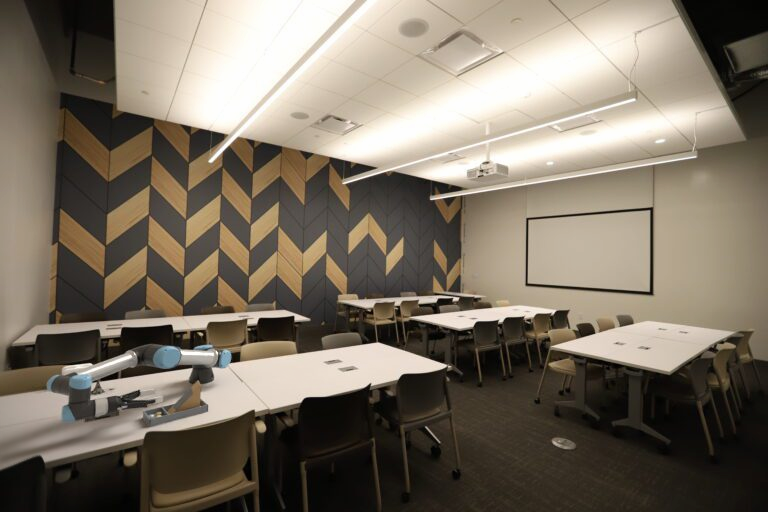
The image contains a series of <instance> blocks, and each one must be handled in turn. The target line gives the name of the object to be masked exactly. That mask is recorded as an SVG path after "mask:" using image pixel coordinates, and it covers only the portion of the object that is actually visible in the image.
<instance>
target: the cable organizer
mask: <svg viewBox="0 0 768 512" xmlns="http://www.w3.org/2000/svg"><path fill="white" fill-rule="evenodd" d="M92 365H93V364H92V363H90V362H89V363H81V364H74V365H73V364H72V365H66V366H64V367H62V368H61V375H67V374H69V373H72V372H75V371H78V370H81V369H84V368H86V367H89V366H92ZM93 382H94V381H92V383H93Z"/></svg>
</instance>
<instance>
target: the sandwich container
mask: <svg viewBox="0 0 768 512" xmlns="http://www.w3.org/2000/svg"><path fill="white" fill-rule="evenodd" d="M201 388H202V384H200V383H199V381H197V382H196V383H195V384H192V385H191V387H190V388H189V389H188V390H187V391H185V393H184V394H183V395H182V396H181V397H180V398H179V399H177V400H176V402H175V403H173V404H174V405H173V406H172V407H171V408H170V409H169V410H168V411H167V412H168V414H173V413H177V412H181V411H184V410H188V409H192V408H196V407H200V398H201V393H202V391H201V390H202V389H201Z"/></svg>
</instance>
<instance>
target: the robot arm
mask: <svg viewBox="0 0 768 512" xmlns="http://www.w3.org/2000/svg"><path fill="white" fill-rule="evenodd" d="M231 360H232V354H231V351H230V350H227V349H224V348H222V349H220V348H215V347H214V346H213V345H212V344H203V345H198V346H195V347H194V348H193V349H181V347H179V346H175V345H163V344H156V343H149V344H144V345H141V346H137V347H134V348H132V349H129V350H127V351H125V353H123V354H120V355H118V356H114V357H112V358H109V359H106V360H104V361H100V362H98V363H96V364H92V366H89V367H86V368H84V369H81V370H78V371H75V372H72V373H69V374H67V375H62V374H55V375H53V376H51V377H50V378H49V379H48V381H47V382H46V386H45V387H46V389H47V390H48V391H49V392H52V393H54V394H58V395H64V396H68V402H67V404H64V405H62V406H61V413H60V414H61V422H62V423H63V424H66V423H67V424H68V423H72V422H77V421H83V420H86V419H91V418H94V417H95V418H96V417H97V418H99V417H101V416H104V415H106V414H108V415H109V414H114V413H115V414H116V413H117V412H118V410H119V409H120V408H121V410H122V411H124V410H132V409H134V410H135V409H146V408H148V406H150V405H154V404H159V403H163V402H164V396H163V395H159V396H156V397H151V398H147V399H138V398H139V397H140V398H142V397H148V396H153V395H156V393H157V392H156V390H157V389H156V388H151V389H147V390H146V389H145V390H140V389H137V390H134V391H130V392H128V393H125V394H122V395H119V396H117V395H111V396H107V397H100V398H97V399H91V396H92V394H91V391H92V384H93V382H95V381H97V380H98V379H99V380H100V379H102V378H105V377H108V376H110V375H113V374H115V373H117V372H118V373H119V372H120V371H123V370H125V369H126V370H127V368H135V367H139V366H148V367H154V368H158V369H164V370H166V369H173V368H175V367H176V368H177V366H192V369H191V372H190V375H189V377H188V383H189V384H192V385H194V384H195V383H196V382H197V381H199V383H200V384H201V385H202V384H208V383H211V382H213V381H214V380H215V374H214V371H213V369H214V368H217V369H226V368H227V367H228V366H229V365H230V363H231ZM92 381H93V382H92Z"/></svg>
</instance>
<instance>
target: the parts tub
mask: <svg viewBox="0 0 768 512" xmlns="http://www.w3.org/2000/svg"><path fill="white" fill-rule="evenodd" d="M174 404H175V403H172V404H168V405H164V406H163V405H162V406H160V407H156V408H155V407H154V408H152V409H151V408H150V409H146V410H142V419H143V421H144V422H145V423H146V425H148V427H149V428H150V427H151V428H152V427H155V426H158V425H162V424H166V423H169V422H173V421H177V420H181V419H185V418H188V417H192V416H196V415H199V414H203V413H207V412H209V404H208V403H207V402H206V401H205V400H203V399H202V397H200V407H196V408H192V409H188V410H184V411H181V412H177V413H173V414H168V412H167V411H168V410H169V409H170V408H171V407H172V406H173V405H174Z"/></svg>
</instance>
